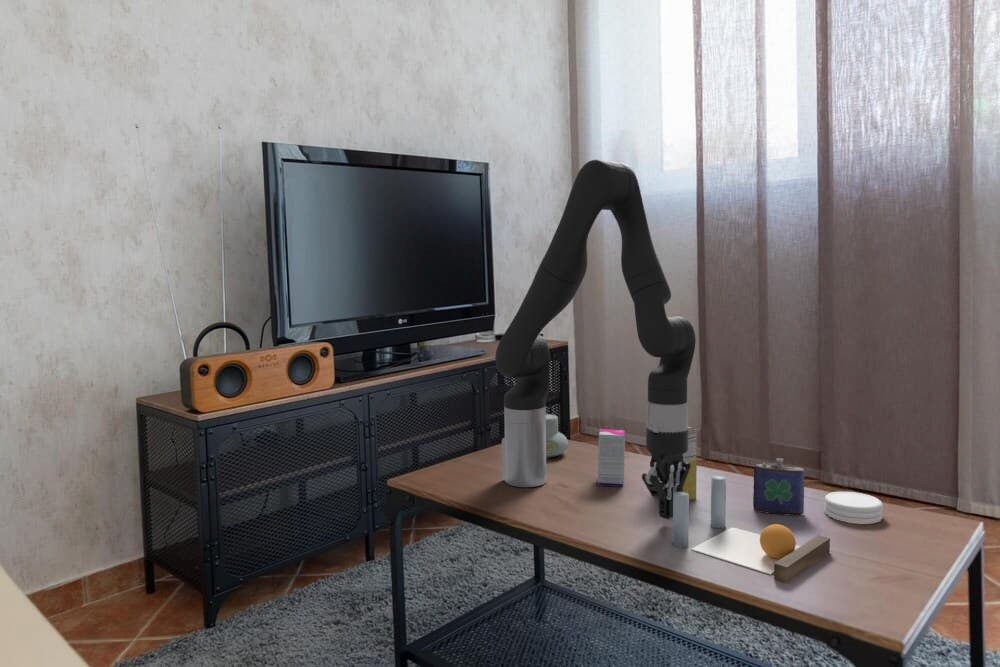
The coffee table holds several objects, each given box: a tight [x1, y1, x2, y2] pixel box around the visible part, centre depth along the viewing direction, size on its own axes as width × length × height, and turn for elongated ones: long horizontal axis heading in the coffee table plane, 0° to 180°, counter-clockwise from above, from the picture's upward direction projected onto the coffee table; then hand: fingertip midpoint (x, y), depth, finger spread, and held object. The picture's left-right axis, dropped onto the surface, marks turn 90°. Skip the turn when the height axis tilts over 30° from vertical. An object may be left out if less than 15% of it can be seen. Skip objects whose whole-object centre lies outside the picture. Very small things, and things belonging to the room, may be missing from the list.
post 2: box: [710, 475, 727, 529], centre depth 132 cm, size 3×3×9 cm
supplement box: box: [597, 428, 626, 487], centre depth 159 cm, size 6×6×12 cm
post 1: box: [672, 492, 690, 549], centre depth 123 cm, size 3×3×9 cm
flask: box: [752, 457, 805, 516], centre depth 139 cm, size 9×3×11 cm, turn 68°
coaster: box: [823, 491, 884, 522], centre depth 137 cm, size 10×10×4 cm
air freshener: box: [546, 413, 569, 459], centre depth 183 cm, size 11×8×10 cm
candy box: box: [681, 424, 698, 501], centre depth 149 cm, size 9×4×15 cm, turn 28°
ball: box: [759, 523, 797, 559], centre depth 117 cm, size 6×6×6 cm
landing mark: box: [690, 526, 801, 576], centre depth 121 cm, size 14×14×1 cm
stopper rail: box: [773, 534, 831, 584], centre depth 114 cm, size 2×16×2 cm, turn 134°
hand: (666, 517), depth 133 cm, fingers closed
